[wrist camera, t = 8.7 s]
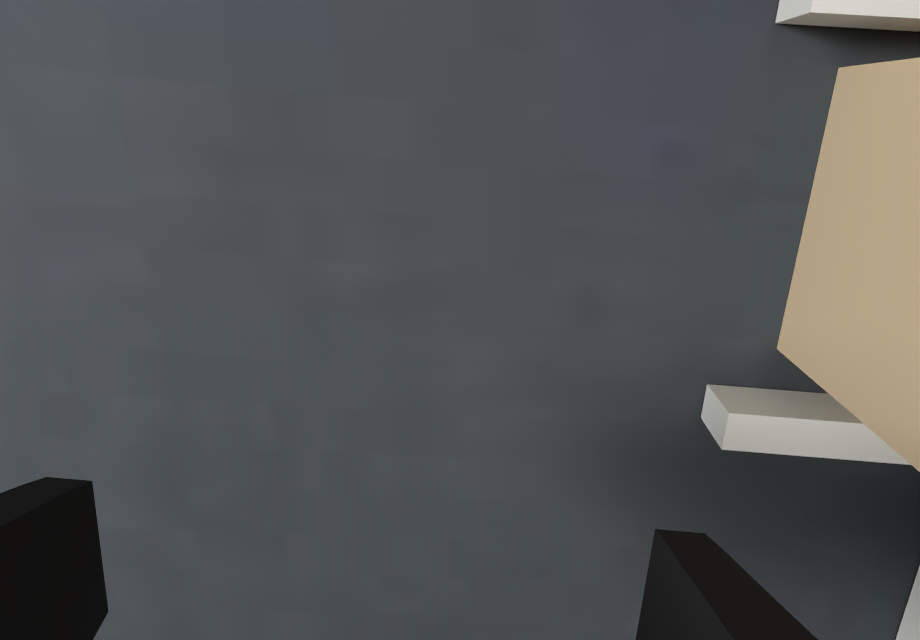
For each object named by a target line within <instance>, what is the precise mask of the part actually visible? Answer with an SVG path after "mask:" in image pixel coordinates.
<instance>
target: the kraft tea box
mask: <svg viewBox="0 0 920 640" xmlns="http://www.w3.org/2000/svg"><path fill="white" fill-rule="evenodd" d="M777 349H778V350H779V351H780V352H781V353H782V354H783V355H785V356H786V357H787V358H788V359H789V360H790V361H791V362H793V363H794V364H795V365H796V366H797V367H798V368H800V369H801V370H802V371H803V372H804V373H805V374H807V375H808V376H809V377H810V378H811V379H812V380H814V381H815V382H816V383H817V384H818V385H819V386H820V387H822V388H823V389H824V390H825V391H826V392H827V393H829V394H830V395H831V396H832V397H833V398H834V399H836V400H837V401H838V402H839V403H840V404H841V405H843V406H844V407H845V408H846V409H847V410H848V411H849V412H851V413H852V414H853V415H854V416H855V417H856V418H858V419H859V420H860V421H861V422H862V423H863V424H865V425H866V426H867V427H868V428H869V429H870V430H872V431H873V432H874V433H875V434H876V435H877V436H878V437H880V438H881V439H882V440H883V441H884V442H885V443H887V444H888V445H889V446H890V447H891V448H892V449H894V450H895V451H896V452H897V453H898V454H899V455H901V456H902V457H903V458H904V459H905V460H906V461H907V462H909V463H910V464H911V465H912V466H913V467H914V468H916V469H917V470H918V471H919V472H920V58H912V59H904V60H897V61H889V62H881V63H873V64H865V65H857V66H849V67H841V68H839V69H838V73H837V78H836V82H835V87H834V91H833V96H832V101H831V105H830V110H829V114H828V119H827V123H826V128H825V132H824V137H823V141H822V146H821V151H820V155H819V160H818V164H817V169H816V173H815V178H814V182H813V187H812V191H811V196H810V201H809V205H808V210H807V214H806V219H805V223H804V228H803V232H802V237H801V241H800V246H799V250H798V255H797V260H796V264H795V269H794V273H793V278H792V282H791V287H790V291H789V296H788V300H787V305H786V310H785V314H784V319H783V323H782V328H781V332H780V337H779V341H778V346H777Z"/></svg>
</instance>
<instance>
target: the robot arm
mask: <svg viewBox="0 0 920 640" xmlns="http://www.w3.org/2000/svg"><path fill="white" fill-rule="evenodd" d="M107 613H108V605H107V597H106V589H105V581H104V573H103V565H102V557H101V549H100V541H99V533H98V525H97V517H96V509H95V501H94V493H93V484H92V481H86V480H74V479H63V478H51V477H45V478H42V479H39V480H36V481H33V482H30V483H27V484H24V485H21V486H18V487H16V488H13V489H10V490H8V491H5V492H3V493H0V640H93V638H94V637H95V635H96V633H97V631H98V629H99V627H100V626H101V624H102V622H103V620H104V618H105V617H106V615H107ZM636 640H818V639H817V638H816V637H815V636H813V635H812V634H811V633H810V632H809V631H808V630H807V629H806V628H805V627H804V626H803V625H802V624H801V623H799V622H798V621H797V620H796V619H795V618H794V617H793V616H792V615H791V614H790V613H789V612H788V611H787V610H786V609H785V608H784V607H783V606H781V605H780V604H779V603H778V602H777V601H776V600H775V599H774V598H773V597H772V596H771V595H770V594H769V593H768V592H767V591H766V590H765V589H764V588H763V587H762V586H761V585H759V584H758V583H757V582H756V581H755V580H754V579H753V578H752V577H751V576H750V575H749V574H748V573H747V572H746V571H745V570H744V569H743V568H742V567H741V566H740V565H739V564H738V563H736V562H735V561H734V560H733V559H732V558H731V557H730V556H729V555H728V554H727V553H726V552H725V551H724V550H723V549H722V548H721V547H719V546H718V545H717V544H716V543H715V542H714V541H713V540H712V539H710V538H709V537H708V536H707V535H706V534H705V533H693V532H681V531H670V530H658V529H655V533H654V539H653V545H652V550H651V556H650V562H649V567H648V573H647V579H646V584H645V590H644V596H643V602H642V607H641V613H640V619H639V624H638V630H637V636H636Z"/></svg>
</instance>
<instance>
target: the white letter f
mask: <svg viewBox="0 0 920 640" xmlns="http://www.w3.org/2000/svg"><path fill="white" fill-rule="evenodd" d="M775 23H779V24H796V25H813V26H831V27H848V28H865V29H883V30H900V31H917V32H920V0H780V1H779V7H778V12H777V17H776V22H775ZM701 419H702V420H703V422H704V423H705V425H706V426H707V428H708V429H709V431H710V433H711V434H712V436H713V437H714V439H715V440H716V442H717V443H718V445H719V446H720V448H721V449H722V450H733V451H746V452H758V453H770V454H783V455H795V456H807V457H820V458H832V459H844V460H857V461H869V462H881V463H894V464H906V465H911V464H910V463H909V462H907V461H906V460H905V459H904V458H903V457H902V456H901V455H899V454H898V453H897V452H896V451H895V450H894V449H892V448H891V447H890V446H889V445H888V444H887V443H885V442H884V441H883V440H882V439H881V438H880V437H878V436H877V435H876V434H875V433H874V432H873V431H872V430H870V429H869V428H868V427H867V426H866V425H865V424H863V423H862V422H861V421H860V420H859V419H858V418H856V417H855V416H854V415H853V414H852V413H851V412H849V411H848V410H847V409H846V408H845V407H844V406H843V405H841V404H840V403H839V402H838V401H837V400H836V399H834V398H833V397H832V396H831V395H830V394H826V393H813V392H800V391H787V390H774V389H761V388H748V387H735V386H723V385H710V384H707V388H706V393H705V398H704V403H703V409H702V414H701ZM896 640H920V566H919V569H918V572H917V575H916V578H915V581H914V584H913V587H912V591H911V594H910V597H909V600H908V603H907V606H906V609H905V612H904V615H903V618H902V621H901V624H900V628H899V631H898V634H897V637H896Z"/></svg>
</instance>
